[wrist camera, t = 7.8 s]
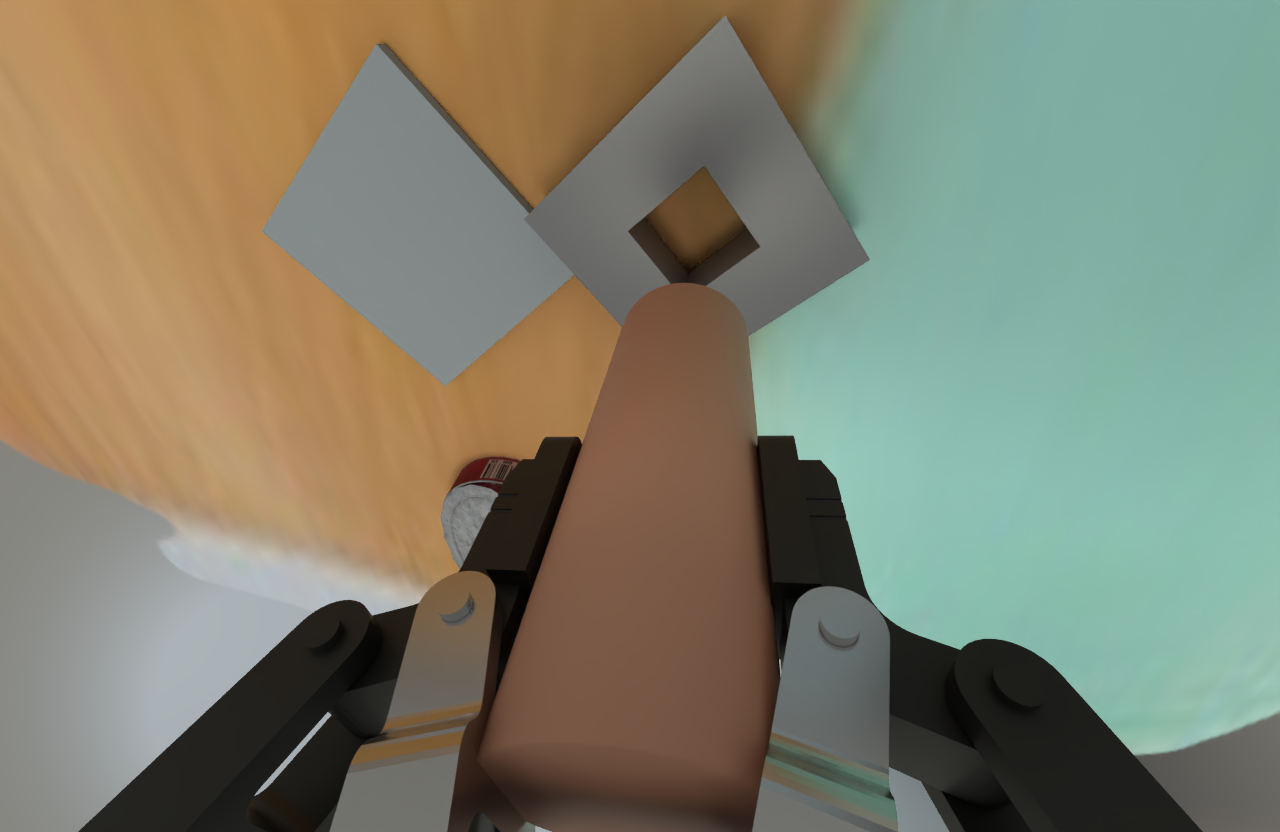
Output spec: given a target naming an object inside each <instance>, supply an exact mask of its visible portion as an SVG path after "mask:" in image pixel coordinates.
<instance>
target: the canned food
mask: <svg viewBox="0 0 1280 832" xmlns="http://www.w3.org/2000/svg"><path fill="white" fill-rule="evenodd" d="M520 462H521V461H519V460H516V459H511V458H506V457H487V458H481V459H478V460H475V461H473V462H471V463H470V464H468V465H467V466H466V467H465V468H464V469H463V470H462V471H461V473H460V475H459V476H458V478H457V480H456V481H455V483H454V485H453V486H452V488H451V490H450V491H449V493H448V494H447V496H446V498H445V500H444V503H443V510H442V514H441V521H442V525H443V530H444V538H445V540H446V542H447V544H448V546H449V548H450V551H451V553H452V556H453V559H454V561H455V562H456V564H457V565H458V567H459V568H460V569H461V567H462V565H463V563H464V561H465V559H466V557H467V555H468V553H469V551H470V549H471V547H472V545H473V542H474V540H475V538H476V536H477V534H478V532H479V530H480V528H481V526H482V524H483V522H484V520H485V518H486V516H487V514H488V512H490V511H491V510H490V508H491V506H492V504H493V502H494V500H495V498H496V497H498V492H499V490H500V488H501V486H502V484H503V482H504V480H505V478H506V476H507V474H508V473H509V472H511V471H512V470H513V469H514V468H515V467H516V466H517V465H518V464H519V463H520Z"/></svg>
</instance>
